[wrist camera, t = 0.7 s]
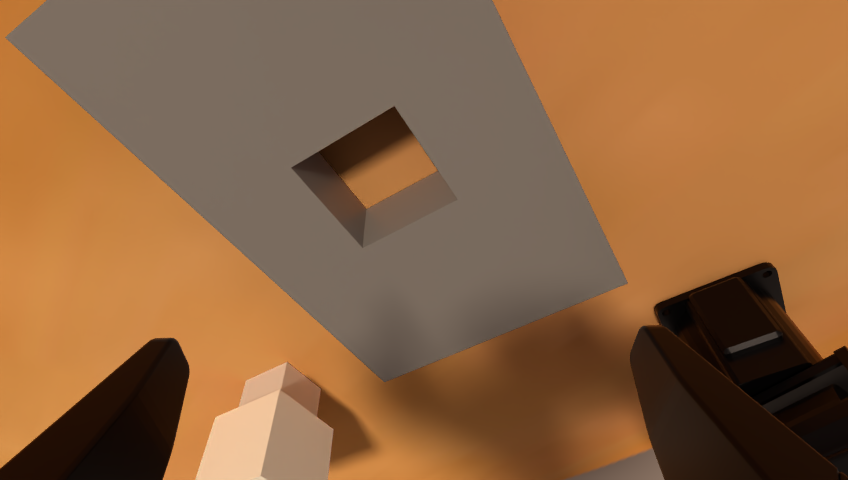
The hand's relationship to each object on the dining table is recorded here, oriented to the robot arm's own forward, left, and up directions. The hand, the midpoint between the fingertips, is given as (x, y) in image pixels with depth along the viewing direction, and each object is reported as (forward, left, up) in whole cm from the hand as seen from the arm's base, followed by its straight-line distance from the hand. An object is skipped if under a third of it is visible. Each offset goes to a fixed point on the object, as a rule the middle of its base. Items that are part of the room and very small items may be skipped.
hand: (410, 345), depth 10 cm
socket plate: (-2, +3, -14) cm, 14 cm away
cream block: (-13, +18, -14) cm, 26 cm away
